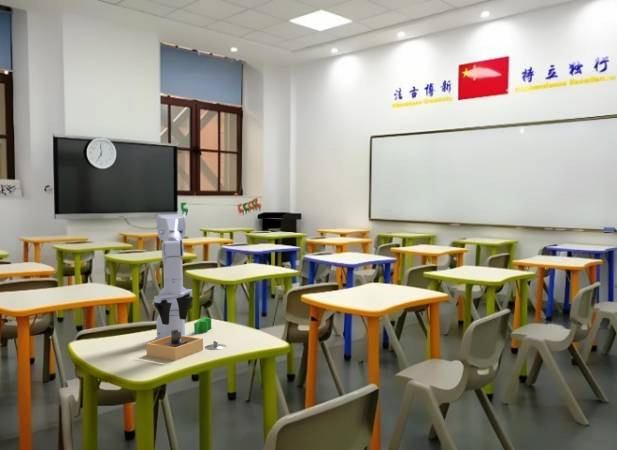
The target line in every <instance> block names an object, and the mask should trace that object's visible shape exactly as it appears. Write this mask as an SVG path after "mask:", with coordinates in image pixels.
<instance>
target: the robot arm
mask: <svg viewBox="0 0 617 450" xmlns="http://www.w3.org/2000/svg"><path fill="white" fill-rule="evenodd" d="M156 231H157V236H158V239H159V240H161V241H162V243H161V258H162V265H163V287H162V289H161V290H160V291H159V293H158V294H157V295H154V296H153V305H154V307H155V308H156V310H157V312H158V315H157V318H156V337H155V338H154V339H155V340H159V339H162V338H165V337H168V336H171V331H172V330H181V335H182V336H189V337H191V335H189V334H186V327H185V324H186V323H185V321H186V320H187V317H188V313H189V310H190V309H189V308H190V305H191V304H192V302H193V300H194V297H193V289H192V288H191V289H189V288H186V287H184V285H183V284H184V281H183V280H184V276H183V275H184V274H183V259H184V242H183V239H184V238H185V236H186V215H185V214H184V213H182V214H181V213H180V214H179V213H177V214H174V213H173V214H159V213H158V214H157V215H156Z"/></svg>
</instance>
